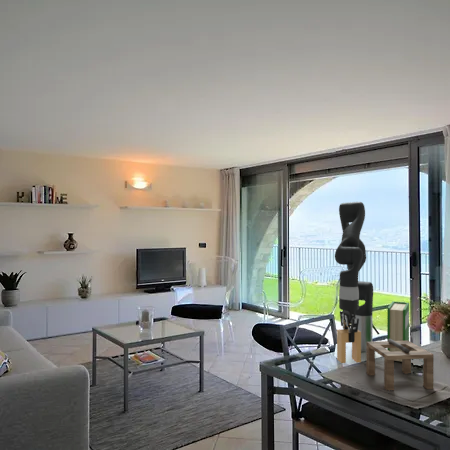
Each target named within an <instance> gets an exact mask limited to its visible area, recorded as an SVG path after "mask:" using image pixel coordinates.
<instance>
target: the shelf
mask: <svg viewBox="0 0 450 450" xmlns="http://www.w3.org/2000/svg"><path fill="white" fill-rule="evenodd" d="M387 348H399V349H401V350H402V351H398V352H390V351H389V350H387ZM376 353H377V354H378V355H380V356H381V357H383V363H384V365H383V367H384V370H383V377H384V378H383V389H385V390H386V391H387V390H389V391H388V392H391V391H390V390H393V391H394V390H395V361H394V360H398V359H402V362H401V372H402V373H403V374H405V375H409V374H408V373H411V374H412V364H411V359H413V360H414V359H419V360H421V359H422V361H423V365H422V366H423V367H422V369H423V371H422V375H423V377H422V382H423V383H422V387H423V386H424V388H425V389H427V390H433V389H434V353H433V352H430V351H429V350H426V349H425V348H423V347H421V346H419V345H417V344H415V343H413V342H412V341H410V340H409V341H393V340H392V339H388V341H387V340H385V341H384V340H383V341H382V340H381V341H372V342H366V352H365V354H366V355H365V356H366V360H365V361H366V363H365V364H366V366H365V367H366V369H365V370H366V373H365V374H367V375H368V376H375V375H376V373H375V372H376Z"/></svg>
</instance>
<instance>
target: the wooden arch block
mask: <svg viewBox="0 0 450 450" xmlns="http://www.w3.org/2000/svg"><path fill="white" fill-rule="evenodd" d="M347 343H348V344H349V343H350V344H351V359H352V360H353V361H354V362H356V364H357V363H362V352H361V332H360V331H359V330H358V331H357V332H355V341H354V342H349V332H348V329H343V328H342V329H337V330H336V350H337V351H336V359H337V361H338V362H339V363H340V364H346V363H347V352H346V351H347Z"/></svg>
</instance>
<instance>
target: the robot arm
mask: <svg viewBox="0 0 450 450" xmlns="http://www.w3.org/2000/svg"><path fill="white" fill-rule="evenodd" d="M338 212H339V213H338V214H339V219H340V224H341V230H342V233H341V234H342V235H341V241H340V243H339V245H338V246H337V248H336V250H335V252H334V259H335V261H336V263H337V264H338V265H343V266H344V265H346V266H347V269H346V270H342V271H340V273H339V290H338V294H339V295H338V308H339V310H340V311H339V317H340V320H339V321H340V326H341V327H342V329H348V332H349V342H354V341H355V332H357V331H358V330H359V331H360V332H361V353H363V352H364V353H366V342H373V310H374V309H373V308H374V307H373V306H374V304H373V303H374V285H373V283H372V282H370V281H361V280H359V273H360V270H362V268H363V266H364V265H365V263H366V261H367V251H366V245H365V244H364V242H363V241H362V239H361V238H360V237H361V232H362V229H363V227H364V226H363V225H364V222H365V220H366V219H365V218H366V208H365V204H364V203H363V202H362V201H352V202H351V201H350V202H342V203H340V204H339V207H338ZM360 301H364V303H363V304H361V305H360V303H359V302H360Z"/></svg>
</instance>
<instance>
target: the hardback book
mask: <svg viewBox="0 0 450 450" xmlns="http://www.w3.org/2000/svg"><path fill="white" fill-rule="evenodd" d="M386 313H387V315H386V316H387V317H386V318H387V319H386V320H387V322H386V323H387V327H386V328H387V329H386V331H387V336H386V337H387V339H386V341H388V339H392V340H393V341H410V303H409V302H405V301H393V300H392V302H391V303H390V304H389V305H388V307H387V312H386ZM386 349H387V350H389V351H390V352H398V351H402V350H401V349H399V348H386ZM395 361H396V362H401V363H402V359H398V360H394V362H395Z"/></svg>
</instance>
